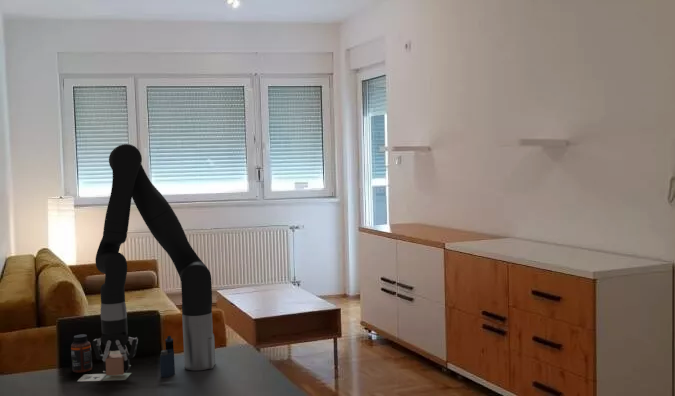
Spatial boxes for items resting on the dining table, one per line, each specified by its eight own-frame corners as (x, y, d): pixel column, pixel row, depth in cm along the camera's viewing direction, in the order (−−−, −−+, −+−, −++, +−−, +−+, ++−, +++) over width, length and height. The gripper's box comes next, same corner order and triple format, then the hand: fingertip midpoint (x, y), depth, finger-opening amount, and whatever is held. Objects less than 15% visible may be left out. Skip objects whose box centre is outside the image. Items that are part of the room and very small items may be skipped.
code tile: (107, 374, 235) (107, 373, 235) (100, 381, 228) (100, 380, 228) (84, 375, 235) (84, 374, 235) (76, 382, 228) (76, 381, 228)
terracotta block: (127, 369, 234) (126, 353, 234) (122, 374, 229) (122, 358, 229) (111, 370, 234) (110, 354, 234) (106, 375, 229) (105, 358, 229)
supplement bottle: (95, 368, 243) (93, 333, 242) (87, 373, 237) (85, 337, 237) (77, 368, 244) (75, 333, 243) (69, 373, 238) (67, 338, 237)
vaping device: (176, 374, 234) (175, 335, 233) (166, 379, 229) (164, 339, 228) (169, 373, 235) (168, 335, 234) (159, 378, 230) (157, 339, 229)
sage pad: (131, 374, 235) (131, 372, 235) (125, 381, 228) (125, 379, 228) (108, 374, 235) (108, 373, 235) (102, 381, 228) (102, 380, 228)
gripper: (140, 313, 234) (143, 367, 236) (94, 314, 234) (97, 369, 235) (134, 318, 227) (137, 375, 228) (86, 320, 227) (89, 376, 228)
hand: (116, 371), depth 232 cm, fingers closed on terracotta block, 4 cm apart
